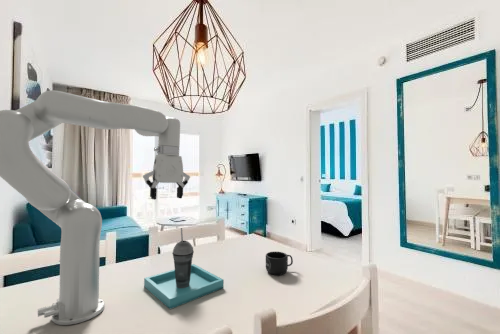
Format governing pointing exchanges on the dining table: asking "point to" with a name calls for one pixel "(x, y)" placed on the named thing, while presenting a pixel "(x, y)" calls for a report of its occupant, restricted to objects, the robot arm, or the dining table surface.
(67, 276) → the robot arm
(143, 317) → the dining table surface
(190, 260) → the beverage cup
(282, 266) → the mug
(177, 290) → the tray
